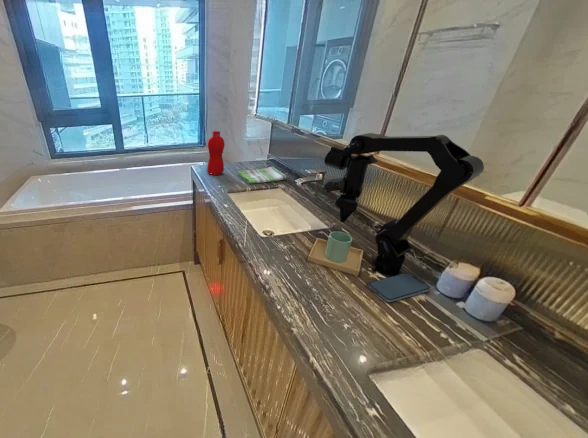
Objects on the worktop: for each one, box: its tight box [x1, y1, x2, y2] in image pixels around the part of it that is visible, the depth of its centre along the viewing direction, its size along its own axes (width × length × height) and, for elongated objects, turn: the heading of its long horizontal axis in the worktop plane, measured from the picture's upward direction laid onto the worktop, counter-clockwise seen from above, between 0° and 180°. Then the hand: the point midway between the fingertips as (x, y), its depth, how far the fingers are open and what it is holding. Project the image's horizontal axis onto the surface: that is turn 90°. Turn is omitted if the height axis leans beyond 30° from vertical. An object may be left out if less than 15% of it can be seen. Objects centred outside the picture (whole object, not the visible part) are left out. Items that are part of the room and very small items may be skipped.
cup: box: [325, 230, 353, 263], centre depth 94 cm, size 7×7×8 cm
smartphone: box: [367, 272, 430, 303], centre depth 82 cm, size 8×2×15 cm
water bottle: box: [206, 130, 225, 176], centre depth 167 cm, size 9×11×25 cm
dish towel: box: [237, 166, 287, 185], centre depth 164 cm, size 17×23×4 cm
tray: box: [307, 237, 364, 277], centre depth 96 cm, size 15×13×2 cm
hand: (344, 216), depth 99 cm, fingers open, 9 cm apart
